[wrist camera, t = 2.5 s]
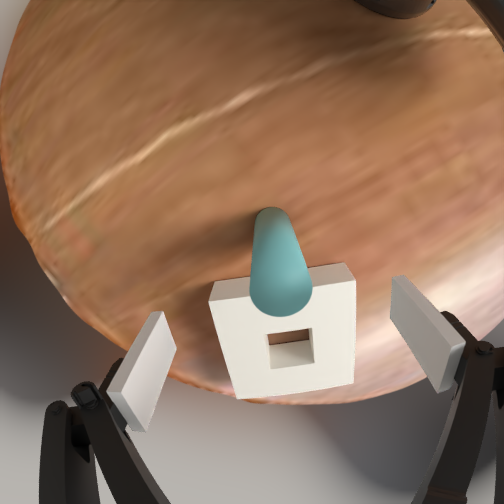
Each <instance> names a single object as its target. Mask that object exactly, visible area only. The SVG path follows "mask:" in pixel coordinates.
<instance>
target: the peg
mask: <svg viewBox="0 0 504 504" xmlns="http://www.w3.org/2000/svg"><path fill="white" fill-rule="evenodd" d="M312 290H313V285H312V281H311V278H310V275H309V272H308V269H307V266H306V263H305V261H304V258H303V255H302V252H301V249H300V247H299V244H298V241H297V238H296V236H295V233H294V230H293V228H292V225H291V222H290V220H289V217H288V215H287V214H286V213H285V212H284V211H283V210H282V209H280V208H277V207H269V208H265V209H263V210H262V211H261V212H260V213H259V214H258V215H257V217H256V219H255V227H254V239H253V251H252V263H251V275H250V287H249V292H250V297H251V300H252V302H253V304H254V305H255V306H256V308H258V309H259V310H260V311H261V312H263V313H265V314H267V315H270V316H274V317H286V316H290V315H293V314H295V313H297V312H299V311H300V310H302V309H303V308H304V307H305V306H306V305H307V303H308V302H309V300H310V298H311V295H312Z"/></svg>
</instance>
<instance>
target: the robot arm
mask: <svg viewBox="0 0 504 504" xmlns="http://www.w3.org/2000/svg"><path fill="white" fill-rule="evenodd" d="M355 1H356V2H358V3H360V4H361V5H363V6H365V7H367V8H369V9H371V10H373V11H375V12H377V13H380V14H383V15H386V16H390V17H394V18H403V19H408V18H415V17H418V16H420V15H422V14H423V13H425V12H426V11H428V10H429V9H430V8H431V7H432V6H433V5H434V4H435V2H436V0H355ZM466 1H467V2H468V3H469V4H470V5H471V7H472V8H473V9H474V10H475V11H476V13H477V14H478V15H479V16H480V18H481V19H482V20H483V21H484V23H485V24H486V25H487V27H488V28H489V29H490V31H491V32H492V34H493V35H494V36H495V38H496V39H497V41H498V42H499V44H500V45H501V47H502V50H503V52H504V0H466ZM390 319H391V320H392V322H393V323H394V325H395V326H396V328H397V329H398V331H399V332H400V334H401V335H402V337H403V338H404V340H405V341H406V343H407V345H408V346H409V348H410V349H411V351H412V352H413V354H414V356H415V357H416V359H417V360H418V362H419V364H420V365H421V367H422V368H423V370H424V372H425V373H426V375H427V377H428V378H429V380H430V382H431V383H432V385H433V387H434V388H435V390H436V392H437V393H440V392H442V391H445V390H447V389H450V388H451V386H452V384H453V381H454V379H455V381H456V382H457V384H458V385H457V388H456V391H455V393H454V396H453V398H452V400H453V402H452V405H451V409H450V412H449V415H448V418H447V421H446V424H445V427H444V430H443V433H442V436H441V438H440V441H439V444H438V446H437V449H436V451H435V454H434V456H433V459H432V461H431V463H430V466H429V468H428V470H427V472H426V475H425V477H424V479H423V481H422V483H421V485H420V487H419V489H418V491H417V493H416V495H415V497H414V499H413V501H412V502H411V504H466V503H467V497H466V492H467V489H468V486H469V483H470V480H471V478H472V475H473V472H474V468H475V465H476V461H477V458H478V455H479V451H480V447H481V444H482V440H483V435H484V431H485V426H486V422H487V417H488V412H489V406H490V400H491V393H492V396H493V405H494V415H495V429H496V483H495V497H494V504H504V347H500V348H494V346H493V345H492V344H490V343H489V342H486V341H477V339H476V338H475V337H474V336H473V335H472V334H471V333H470V332H469V331H468V330H467V328H466V327H465V326H463V324H462V323H461V322H459V320H458V319H457V318H456V317H455V316H454V315H453V314H451V313H449V312H447V311H443V312H439V311H438V310H437V309H436V308H435V307H434V305H433V304H432V303H431V302H430V301H429V300H428V299H427V298H426V297H425V296H424V295H423V294H422V293H421V292H420V291H419V290H418V289H417V288H416V287H415V286H414V285H413V284H412V283H411V282H410V281H409V280H408V279H407V278H406V277H405V276H404V275H400V276H395V277H392V292H391V309H390ZM176 349H177V348H176V345H175V343H174V340H173V337H172V335H171V332H170V329H169V326H168V324H167V321H166V318H165V315H164V312H163V311H157V312H151V313H150V315H149V317H148V318H147V320H146V322H145V324H144V325H143V327H142V329H141V330H140V332H139V334H138V335H137V337H136V339H135V341H134V342H133V344H132V346H131V348H130V349H129V351H128V353H127V355H126V357H125V358H119V360H117V361H116V362H115V363H114V364H113V365H112V367H111V369H110V370H109V372H108V374H107V375H106V378H105V379H104V381H103V383H102V384H101V386H100V388H99V390H98V389H97V388H96V386H95V384H94V383H92V382H89V381H88V382H82V383H80V384H78V385H76V386H75V387H74V388H73V390H72V392H71V397H72V399H73V400H74V402H75V403H76V404H77V406H75V407H68V406H67V404H66V403H65V402H64V401H61V400H60V401H55V402H53V403H51V404H50V405H49V406H48V407H47V409H46V412H45V418H44V426H43V435H42V445H41V456H40V473H39V504H100V498H99V492H98V485H97V476H96V467H95V456H96V458H97V461H98V463H99V466H100V468H101V470H102V473H103V475H104V478H105V480H106V482H107V484H108V486H109V489H110V491H111V493H112V495H113V497H114V499H115V501H116V503H117V504H171V503H170V502H169V500H168V499H167V497H166V496H165V495H164V493H163V492H162V490H161V489H160V487H159V486H158V484H157V483H156V481H155V480H154V478H153V476H152V475H151V473H150V472H149V470H148V468H147V467H146V465H145V463H144V462H143V460H142V458H141V457H140V455H139V453H138V452H137V449H136V448H135V446H134V444H133V442H132V440H131V439H130V437H129V435H128V433H127V432H126V430H125V427H126V425H127V424H128V425H129V427H130V428H131V429H132V431H139V432H147V430H148V427H149V424H150V421H151V418H152V415H153V412H154V409H155V407H156V404H157V401H158V398H159V395H160V393H161V390H162V387H163V384H164V381H165V379H166V376H167V373H168V370H169V368H170V365H171V362H172V360H173V357H174V354H175V352H176ZM94 453H95V456H94Z"/></svg>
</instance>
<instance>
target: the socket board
mask: <svg viewBox="0 0 504 504" xmlns="http://www.w3.org/2000/svg"><path fill="white" fill-rule="evenodd" d="M307 269H308V272H309V275H310V278H311V281H312V285H313V290H312V295H311V298H310V300H309V302H308V303H307V305H306V306H305V307H304V308H303V309H302V310H300V311H299V312H297V313H295V314H293V315H290V316H286V317H274V316H270V315H267V314H265V313H263V312H261V311H260V310H259V309H258V308H256V306H255V305H254V304H253V302H252V300H251V297H250V292H249V287H250V277H243V278H236V279H229V280H221V281H215V282H214V286H213V289H212V292H211V295H210V298H209V301H208V302H209V306H210V310H211V313H212V317H213V320H214V324H215V328H216V331H217V335H218V338H219V341H220V345H221V348H222V352H223V355H224V358H225V362H226V365H227V368H228V372H229V375H230V378H231V381H232V384H233V388H234V391H235V394H236V397H237V399H246V398H258V397H268V396H278V395H286V394H294V393H301V392H308V391H314V390H320V389H326V388H331V387H337V386H342V385H347V384H352V383H353V380H354V363H355V339H356V280H355V278H354V276H353V275H352V273H351V272H350V270H349V269H348V267H347V266H346V264H345V263H344V262H343V263H337V264H331V265H324V266H318V267H311V268H307ZM307 328H309V339H310V340H304V341H297V342H291V343H283V344H276V345H269V341H268V336H267V334H272V333H280V332H287V331H294V330H301V329H307Z"/></svg>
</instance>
